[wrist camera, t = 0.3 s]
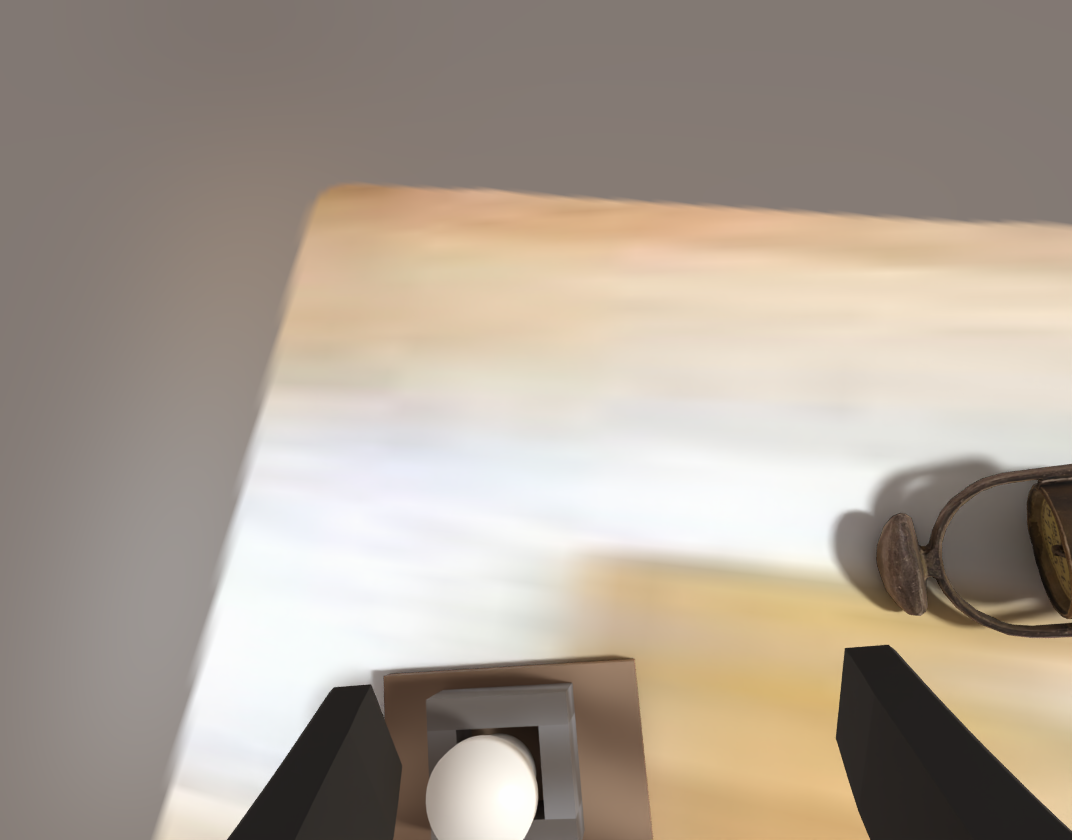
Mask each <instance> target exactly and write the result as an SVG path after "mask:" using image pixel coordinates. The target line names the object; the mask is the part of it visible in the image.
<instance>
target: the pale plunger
mask: <svg viewBox="0 0 1072 840" xmlns="http://www.w3.org/2000/svg"><path fill="white" fill-rule="evenodd" d="M537 805H538V786H537V781H536V766H535V762H534V759H533V756H532V754H531V752H530V751H529V749H528V748H527V747H526V746H525V744H524V743H522V742H521V741H520V740H519V739H517V738H515V737H513V736H511V735H508V734H501V733H497V734H492V735H480V736H474V737H470V738H468V739H465V740H463V741H461V742H460V743H458V744H457V745H455V746H454V747H453V748H452V749H451V750H449V751H448V752H447V753H446V754H445V755H444V756H443V757H442V758H441V759H440V760H439V762H438V763H437V765H436V766H435V768H434V769H433V771H432V773H431V776H430V778H429V781H428V785H427V791H426V811H427V815H428V820H429V822H430V825H431V828H432V830H433V832H434V834H435V835H436V837H437V839H438V840H523V839H524V838H525V836H526V834H527V832H528V830H529V828H530V826H531V824H532V822H533V819H534V817H535V814H536V810H537Z"/></svg>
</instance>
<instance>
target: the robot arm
mask: <svg viewBox="0 0 1072 840" xmlns="http://www.w3.org/2000/svg"><path fill="white" fill-rule="evenodd" d="M836 740H837V743H838V747H839V750H840V753H841V757H842V760H843V763H844V767H845V770H846V773H847V777H848V780H849V783H850V786H851V789H852V792H853V796H854V799H855V802H856V805H857V808H858V811H859V814H860V816H861V818H862V821H863V823H864V826H865V828H866V831H867V833H868V835H869V838H870V840H1072V831H1071V830H1070V829H1069V828H1068V827H1067V826H1066V825H1065V824H1063V823H1062V822H1061V821H1060V820H1059V819H1058V818H1057V817H1056V816H1055V815H1054V814H1053V813H1052V812H1051V811H1050V810H1049V809H1048V808H1047V807H1046V806H1044V805H1043V804H1042V803H1041V802H1040V801H1039V800H1038V799H1037V798H1036V797H1035V796H1034V795H1033V794H1032V793H1031V792H1030V791H1029V790H1028V789H1027V788H1026V787H1025V786H1024V785H1023V784H1022V783H1021V782H1020V781H1019V780H1018V779H1017V778H1016V777H1015V776H1014V775H1013V774H1012V773H1011V772H1010V771H1009V770H1008V769H1007V768H1006V767H1005V766H1004V765H1003V764H1002V763H1001V762H1000V761H999V760H998V759H997V758H996V757H995V756H994V755H993V754H992V753H991V752H990V751H989V750H988V749H987V748H986V747H985V746H984V745H983V744H982V743H981V742H980V741H979V740H978V739H977V738H976V737H975V736H974V735H973V734H972V733H971V732H970V731H969V730H968V729H967V728H966V727H965V726H964V725H963V723H962V722H961V721H960V720H959V719H958V718H957V717H956V716H955V715H954V714H953V713H952V712H951V711H950V710H949V709H948V708H947V707H946V706H945V704H944V703H943V702H942V701H941V700H940V699H939V698H938V697H937V696H936V695H935V694H934V693H933V692H932V690H931V689H930V688H929V687H928V686H927V685H926V684H925V683H924V682H923V681H922V679H921V678H920V677H919V676H918V675H917V674H916V673H915V672H914V671H913V670H912V668H911V667H910V666H909V665H908V664H907V663H906V662H905V661H904V659H903V658H902V657H901V656H900V655H899V654H898V653H897V652H896V651H895V650H894V649H893V648H892V647H890V646H889V645H880V646H867V647H854V648H845V653H844V663H843V673H842V683H841V692H840V702H839V712H838V722H837V732H836ZM401 774H402V763H401V761H400V758H399V756H398V753H397V751H396V748H395V745H394V743H393V740H392V738H391V735H390V732H389V730H388V727H387V725H386V722H385V719H384V717H383V714H382V712H381V709H380V706H379V704H378V701H377V699H376V696H375V693H374V691H373V688H372V686H371V685H359V686H346V687H334V688H333V689H332V690H331V691H330V692H329V694H328V695H327V697H326V698H325V700H324V701H323V703H322V704H321V706H320V707H319V709H318V710H317V712H316V713H315V715H314V716H313V718H312V719H311V721H310V722H309V724H308V725H307V727H306V728H305V730H304V731H303V732H302V734H301V735H300V737H299V738H298V740H297V741H296V743H295V744H294V746H293V747H292V749H291V750H290V752H289V753H288V755H287V756H286V758H285V759H284V760H283V762H282V763H281V765H280V766H279V768H278V769H277V771H276V772H275V774H274V775H273V776H272V778H271V779H270V781H269V782H268V784H267V785H266V786H265V788H264V789H263V791H262V792H261V793H260V795H259V796H258V798H257V799H256V800H255V802H254V803H253V805H252V806H251V807H250V809H249V810H248V811H247V813H246V814H245V816H244V817H243V818H242V820H241V821H240V823H239V824H238V825H237V827H236V828H235V830H234V831H233V832H232V834H231V835H230V836H229V838H228V839H227V840H393V838H394V831H395V824H396V816H397V809H398V801H399V792H400V783H401Z"/></svg>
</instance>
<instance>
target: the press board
mask: <svg viewBox="0 0 1072 840" xmlns="http://www.w3.org/2000/svg"><path fill="white" fill-rule="evenodd" d="M384 707H385V722H386V725H387V727H388V730H389V732H390V735H391V738H392V740H393V743H394V745H395V748H396V751H397V753H398V756H399V758H400V761H401V763H402V774H401V783H400V792H399V801H398V809H397V816H396V824H395V831H394V838H393V840H438V839H437V837H436V835H435V834H434V832H433V830H432V828H431V825H430V822H429V820H428V815H427V811H426V791H427V785H428V781H429V778H430V776H431V773H432V771H433V769H434V768H435V766H436V765H437V763H438V762H439V760H440V759H441V758H442V757H443V756H444V755H445V754H446V753H447V752H448V751H449V750H451V749H452V748H453V747H454V746H455V745H457V744H458V743H460V742H461V741H463V740H465V739H468V738H470V737H474V736H480V735H492V734H497V733H501V734H508V735H511V736H513V737H515V738H517V739H519V740H520V741H521V742H522V743H524V744H525V746H526V747H527V748H528V749H529V751H530V752H531V754H532V756H533V759H534V762H535V766H536V781H537V786H538V805H537V810H536V814H535V817H534V819H533V822H532V824H531V826H530V828H529V830H528V832H527V834H526V836H525V838H524V839H523V840H653V833H652V824H651V814H650V804H649V795H648V785H647V775H646V766H645V756H644V746H643V736H642V727H641V717H640V707H639V698H638V688H637V678H636V669H635V659H623V660H607V661H591V662H574V663H558V664H542V665H525V666H509V667H493V668H477V669H460V670H444V671H428V672H411V673H395V674H388V675H386V676H384Z"/></svg>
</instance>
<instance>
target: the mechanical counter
mask: <svg viewBox="0 0 1072 840" xmlns="http://www.w3.org/2000/svg"><path fill="white" fill-rule="evenodd" d="M1030 480H1038V483H1037V484H1034V485H1033V486H1032V488H1031V490H1030V492H1029V495H1028V500H1027V525H1028V531H1029V535H1030V539H1031V543H1032V545H1033V550H1034V555H1035V559H1036V563H1037V566H1038V569H1039V572H1040V576H1041V579H1042V582H1043V585H1044V588H1045V590H1046V593H1047V595H1048V597H1049V599H1050V601H1051V603H1052V605H1053V607H1054V608H1055V609H1056V610H1057V612H1058V613H1059V614H1060V615H1061V616H1062V617H1064V618H1066V619H1072V464H1068V465H1060V466H1052V467H1044V468H1036V469H1028V470H1021V471H1013V472H1005V473H1001V474H997V475H993V476H989V477H985V478H982V479H980V480H978V481H976V482H975V483H973V484H971V485H969V486H968V487H967V488H965V489H964V490H963V491H961V492H960V493H959V494H957V495H956V496H955V497H953V498H952V499H951V500H950V501H949V502H948V503H947V505H946V506H945V507H944V508H943V509H942V510H941V512H940V514H939V516H938V518H937V520H936V523H935V525H934V527H933V529H932V533H931V537H930V540H929V543H928V544H927V546H920V545H919V543H918V540H917V536H916V533H915V529H914V525H913V522H912V518H911V517H910V516H908V515H906V514H904V513H899V514H897V515H894V516H892V517H891V518H890V520H889V521H888V522H887V523H886V524H885V526H884V527H883V530H882V533H881V536H880V539H879V541H878V544H877V557H876V561H877V566H878V569H879V572H880V575H881V578H882V581H883V583H884V586H885V589H886V590H887V592H888V593H889V594H890V596H891V597H892V598H893V600H894V601H895V602H896V604H897V605H898V606H899V607H900V608H902V609H903V610H904V611H905V612H906V613H908V614H910V615H916V616H921V615H922V614H923V613H925V612H926V610H927V607H928V602H927V592H926V579H927V578H928V577H933V578H935V579H936V581H937V582H938V584H939V586H940V588H941V589H942V591H943V593H944V594H945V595H946V596H947V597H948V599H949V600H950V601H951V602H952V603H953V604H954V606H955V607H956V608H958V609H959V610H960V611H962V612H963V613H964V614H965V615H967V616H968V617H969V618H971V619H972V620H974V621H976V622H978V623H980V624H982V625H984V626H986V627H989V628H991V629H994V630H997V631H999V632H1002V633H1004V634H1007V635H1012V636H1021V637H1029V638H1058V637H1072V623H1064V624H1050V625H1036V626H1027V625H1012V624H1008V623H1005V622H1001V621H999V620H997V619H995V618H993V617H991V616H989V615H987V614H985V613H982V612H980V611H978V610H976V609H975V608H974V607H972V606H971V605H970V604H968V603H967V602H966V601H965V600H963V599H962V598H961V597H960V596H959V594H958V593H957V592H956V591H955V589H954V588H953V587H952V585H951V583H950V581H949V579H948V578H947V576H946V573H945V569H944V565H943V560H942V541H943V538H944V535H945V532H946V528H947V527H948V525H949V523H950V521H951V519H952V518H953V516H954V514H955V513H956V512H957V511H958V510H959V508H960V507H961V506H962V505H964V504H965V503H966V502H967V501H969V500H970V499H971V498H973V497H974V496H975V495H977V494H978V493H980V492H981V491H984V490H987V489H989V488H992V487H995V486H998V485H1003V484H1009V483H1015V482H1023V481H1030Z"/></svg>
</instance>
